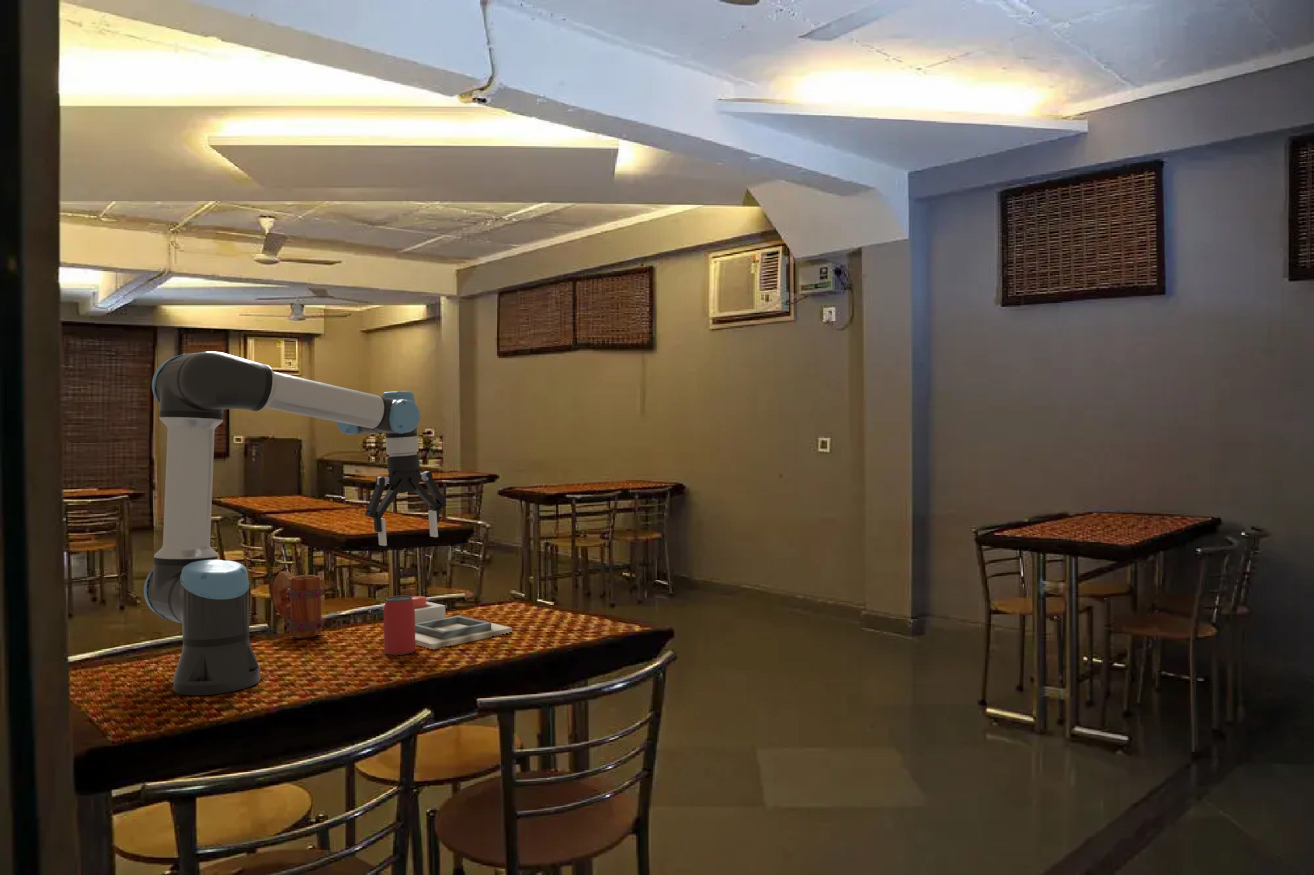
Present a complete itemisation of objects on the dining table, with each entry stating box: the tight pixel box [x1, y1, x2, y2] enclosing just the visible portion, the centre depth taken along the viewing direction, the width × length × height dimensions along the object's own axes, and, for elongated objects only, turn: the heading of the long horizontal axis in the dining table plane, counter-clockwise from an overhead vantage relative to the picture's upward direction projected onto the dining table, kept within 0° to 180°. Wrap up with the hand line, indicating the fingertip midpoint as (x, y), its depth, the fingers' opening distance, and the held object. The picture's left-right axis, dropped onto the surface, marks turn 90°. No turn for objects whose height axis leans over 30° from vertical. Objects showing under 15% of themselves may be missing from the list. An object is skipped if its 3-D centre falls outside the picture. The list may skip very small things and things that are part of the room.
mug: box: [272, 570, 327, 640], centre depth 222 cm, size 15×8×15 cm, turn 62°
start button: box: [411, 595, 427, 609], centre depth 230 cm, size 5×5×4 cm
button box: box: [415, 600, 446, 624], centre depth 231 cm, size 10×10×5 cm
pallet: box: [415, 615, 513, 650], centre depth 220 cm, size 22×18×3 cm
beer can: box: [383, 595, 416, 657], centre depth 204 cm, size 7×7×12 cm
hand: (409, 541), depth 229 cm, fingers open, 13 cm apart
